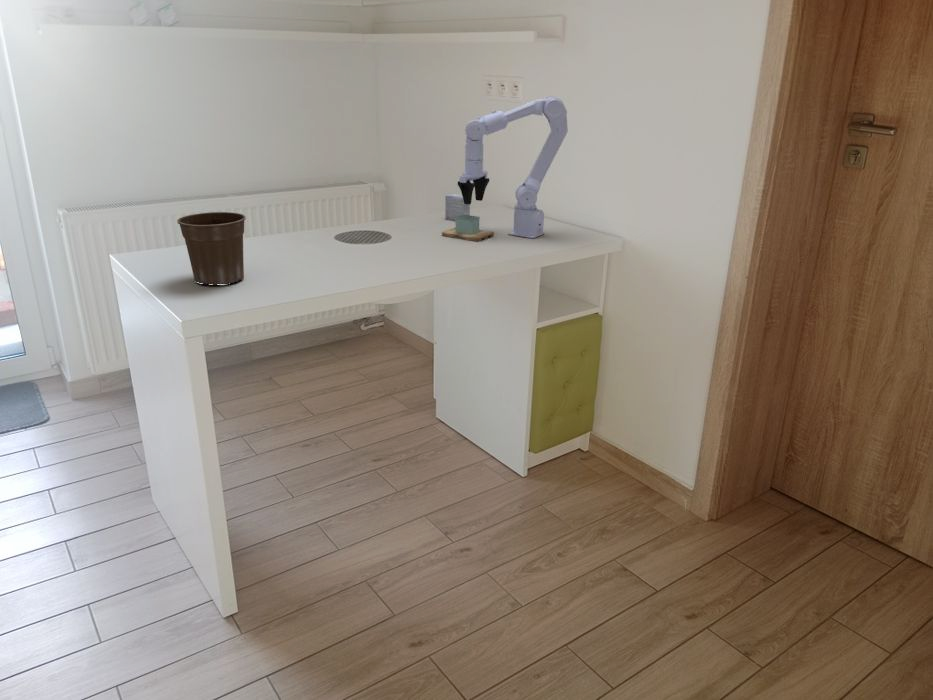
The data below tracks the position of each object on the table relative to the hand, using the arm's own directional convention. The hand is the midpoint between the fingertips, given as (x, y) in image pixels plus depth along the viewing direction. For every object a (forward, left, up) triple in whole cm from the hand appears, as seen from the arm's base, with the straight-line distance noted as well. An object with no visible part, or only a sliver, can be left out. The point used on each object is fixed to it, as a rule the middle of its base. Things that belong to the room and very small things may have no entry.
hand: (473, 202), depth 232 cm
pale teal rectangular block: (0, +4, -9) cm, 10 cm away
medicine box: (+15, -15, -11) cm, 24 cm away
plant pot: (+26, +83, -11) cm, 88 cm away
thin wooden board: (-1, +4, -10) cm, 11 cm away
